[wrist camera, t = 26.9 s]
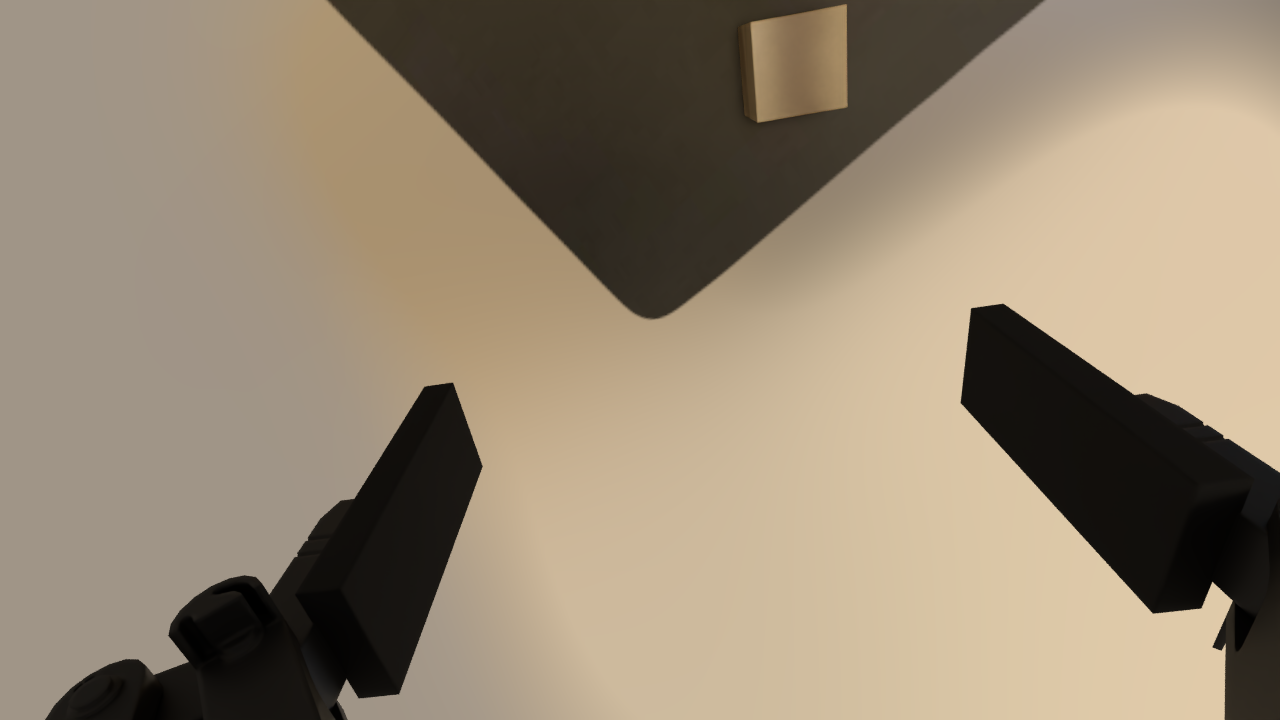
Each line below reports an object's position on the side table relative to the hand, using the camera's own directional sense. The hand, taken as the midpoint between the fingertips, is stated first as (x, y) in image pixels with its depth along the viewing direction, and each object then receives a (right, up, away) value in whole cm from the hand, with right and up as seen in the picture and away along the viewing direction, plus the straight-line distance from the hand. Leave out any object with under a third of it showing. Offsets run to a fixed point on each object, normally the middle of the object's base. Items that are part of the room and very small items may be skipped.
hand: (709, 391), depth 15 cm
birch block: (+7, +19, +21) cm, 29 cm away
